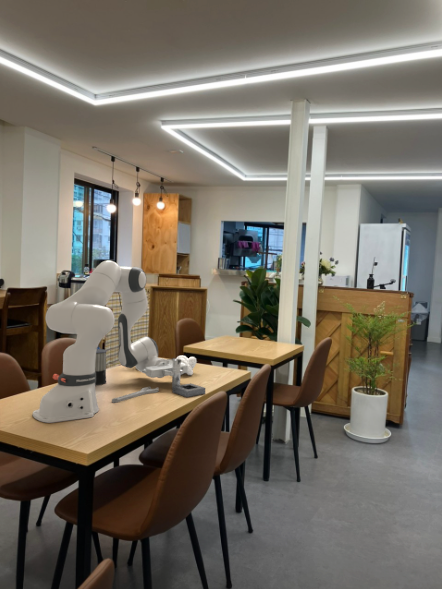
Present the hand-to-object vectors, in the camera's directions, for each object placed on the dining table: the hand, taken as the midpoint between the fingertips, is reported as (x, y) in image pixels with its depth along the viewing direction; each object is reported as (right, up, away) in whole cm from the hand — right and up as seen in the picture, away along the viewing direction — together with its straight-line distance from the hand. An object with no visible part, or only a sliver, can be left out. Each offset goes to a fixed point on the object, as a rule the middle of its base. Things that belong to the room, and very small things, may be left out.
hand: (177, 373), depth 203 cm
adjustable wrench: (-17, -8, -12) cm, 22 cm away
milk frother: (-42, -6, +8) cm, 43 cm away
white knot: (+1, -6, +30) cm, 31 cm away
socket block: (+5, -7, -6) cm, 11 cm away
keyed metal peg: (-1, -7, +1) cm, 7 cm away
